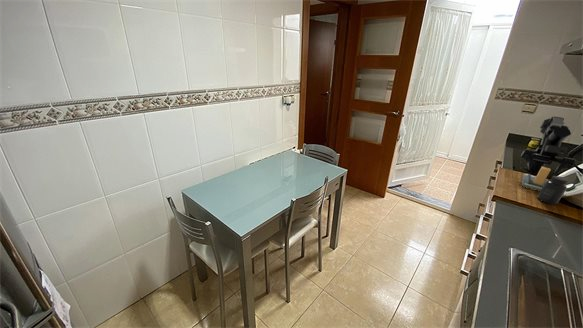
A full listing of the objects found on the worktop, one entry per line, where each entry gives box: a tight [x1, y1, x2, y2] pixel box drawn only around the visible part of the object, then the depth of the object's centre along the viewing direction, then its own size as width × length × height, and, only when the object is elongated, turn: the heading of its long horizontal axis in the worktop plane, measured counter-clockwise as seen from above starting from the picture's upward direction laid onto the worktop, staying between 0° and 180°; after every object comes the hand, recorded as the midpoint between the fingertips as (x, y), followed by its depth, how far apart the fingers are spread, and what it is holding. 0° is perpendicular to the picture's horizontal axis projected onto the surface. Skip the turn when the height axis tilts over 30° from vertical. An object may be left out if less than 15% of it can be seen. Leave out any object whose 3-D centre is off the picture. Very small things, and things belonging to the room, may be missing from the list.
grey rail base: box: [521, 173, 550, 192], centre depth 121 cm, size 16×10×3 cm, turn 138°
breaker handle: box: [531, 166, 551, 188], centre depth 116 cm, size 4×4×9 cm
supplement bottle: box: [537, 175, 569, 205], centre depth 106 cm, size 7×7×12 cm
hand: (541, 172), depth 119 cm, fingers open, 9 cm apart
